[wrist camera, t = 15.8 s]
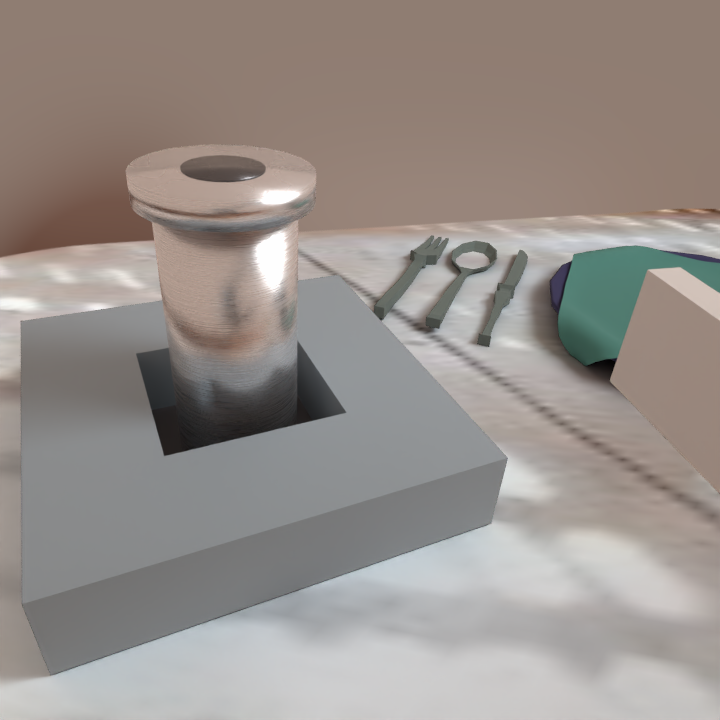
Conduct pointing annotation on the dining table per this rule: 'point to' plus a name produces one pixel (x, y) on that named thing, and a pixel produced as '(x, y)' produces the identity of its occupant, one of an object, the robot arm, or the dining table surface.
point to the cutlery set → (566, 291)
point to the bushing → (227, 281)
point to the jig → (226, 475)
